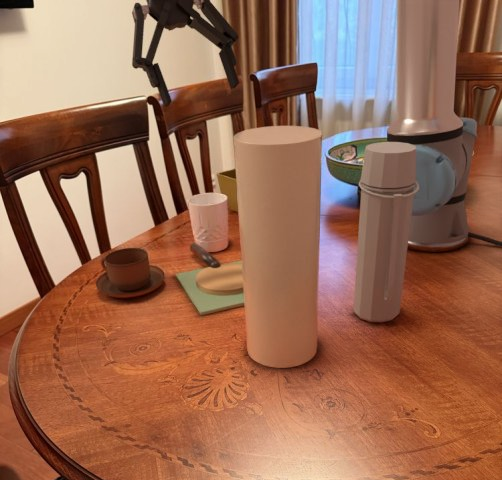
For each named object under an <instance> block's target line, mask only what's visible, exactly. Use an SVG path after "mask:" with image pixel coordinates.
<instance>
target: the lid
mask: <svg viewBox="0 0 502 480" xmlns="http://www.w3.org/2000/svg"><path fill="white" fill-rule="evenodd" d="M189 250H190V252H191V253H192V254H193V255H194V256H195V257H197V258H198V259H199V260H200V262H202V263H203V264H205V266H206V267H204V268H205V269H203V270H201V271H200V272H199V273H198V274H197V276H196V285H197V287H198V288H199V289H200V290H201V291H203V292H205V293H208V294H213V295H233V294H238V293H242V292H243V278H242V264H239V263H231V262H224V263H221V262H220V261H219V260H218V259H217V258H216V257H214V256H213V255H212V254H210V252H207V251H206V250H205V249H203V248H202V247H201V246H200V245H199V244H197V243H195V242H193V243H191V244H190V246H189Z"/></svg>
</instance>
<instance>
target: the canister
mask: <svg viewBox="0 0 502 480" xmlns="http://www.w3.org/2000/svg"><path fill="white" fill-rule="evenodd" d="M233 151H234V152H233V153H234V164H235V165H234V166H235V168H236V183H237V199H238V212H237V214H238V229H239V243H240V245H239V246H240V261H241V262H242V278H243V293H244V306H243V307H244V308H243V309H244V323H245V325H244V326H245V339H246V340H245V341H246V351H247V354H248V356H249V357H250V359H252V361H255V362H256V363H257V364H259V365H262V366H265V367H269V368H277V369H286V368H287V369H288V368H293V367H298V366H301V365H304V364H305V363H307V362H309V361H310V360H312V359H313V358H314V357H315V356H316V354H317V351H318V333H319V332H318V331H319V329H318V328H319V289H320V288H319V287H320V285H319V282H320V246H321V245H320V240H321V201H322V199H321V198H322V197H321V196H322V157H323V156H322V155H323V153H322V151H323V132H322V131H321V130H319V129H317V128H314V127H309V126H302V125H269V126H261V127H254V128H249V129H245V130H242V131H240V132H237V133H235V134H234V135H233Z"/></svg>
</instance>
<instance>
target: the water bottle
mask: <svg viewBox="0 0 502 480" xmlns="http://www.w3.org/2000/svg"><path fill="white" fill-rule="evenodd" d="M361 169H362V170H361V175H360V179H359V182H358V187H359V188H360V189H361V190H360V203H359V204H360V205H359V219H358V234H357V250H356V251H357V252H356V263H355V264H356V266H355V280H354V293H353V294H354V295H353V296H354V297H353V312H354V314H355V315H356V316H357V317H358V318H360V319H361V320H364V321H366V322H369V323H386V322H390V321H392V320H393V319H395V318H396V317H397V316H398V315H399V314H400V313H401V304H402V296H403V287H404V281H405V280H404V279H405V271H406V263H407V254H408V248H407V247H408V239H409V230H410V222H411V214H412V206H413V197H414V194H415V193H416V192H417V191H418V190H419V184H418V183H417V181H416V147H415V145H412V144H409V143H402V142H387V141H382V142H373V143H370V144H367V145H366V146H365V149H364V155H363V162H362V167H361ZM415 186H416V190H415V191H414V189H413V187H415Z"/></svg>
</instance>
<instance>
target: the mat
mask: <svg viewBox="0 0 502 480" xmlns="http://www.w3.org/2000/svg"><path fill="white" fill-rule="evenodd" d="M230 263H239V264H242V262H241V260H237V261H232V262H231V261H230ZM205 268H206V267H203V268H198V269H193V270H189V271H183V272H179V273H178V272H177V273H175V275H174V276H175V278H176V279H177V281H178V282H179V284H180V285H181V287H182V288H183V290H184V291H185V293H186V295H187V296H188V298H189V299H190V301H191V302H192V304H193V306H194V307H195V309H196V310H197V311H198V313H199V314H200V316H205V315H210V314H215V313H218V312H222V311H226V310H231V309H234V308H240V307H244V293H243V292H242V293H238V294H233V295H213V294H208V293H205V292H203V291H201V290H200V289H199V288H198V287H197V285H196V276H197V274H198V273H199V272H200V271H201V270H203V269H205Z"/></svg>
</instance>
